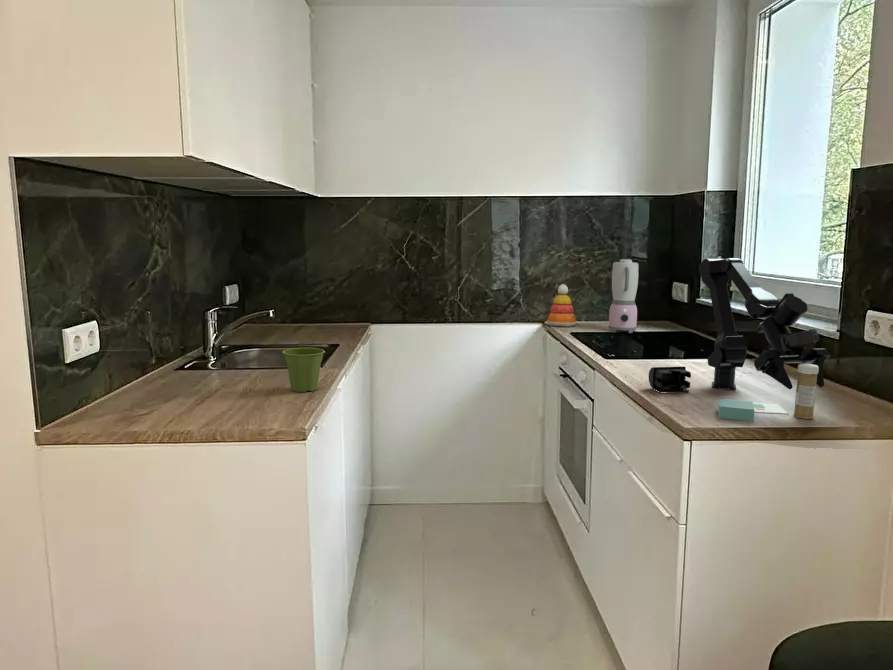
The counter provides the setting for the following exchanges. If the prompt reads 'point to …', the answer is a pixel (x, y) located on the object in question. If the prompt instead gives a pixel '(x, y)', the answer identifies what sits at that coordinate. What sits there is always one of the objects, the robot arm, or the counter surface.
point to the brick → (736, 410)
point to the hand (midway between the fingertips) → (806, 387)
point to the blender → (624, 296)
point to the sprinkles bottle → (806, 391)
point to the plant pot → (303, 367)
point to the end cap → (669, 379)
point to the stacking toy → (562, 310)
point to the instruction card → (768, 408)
